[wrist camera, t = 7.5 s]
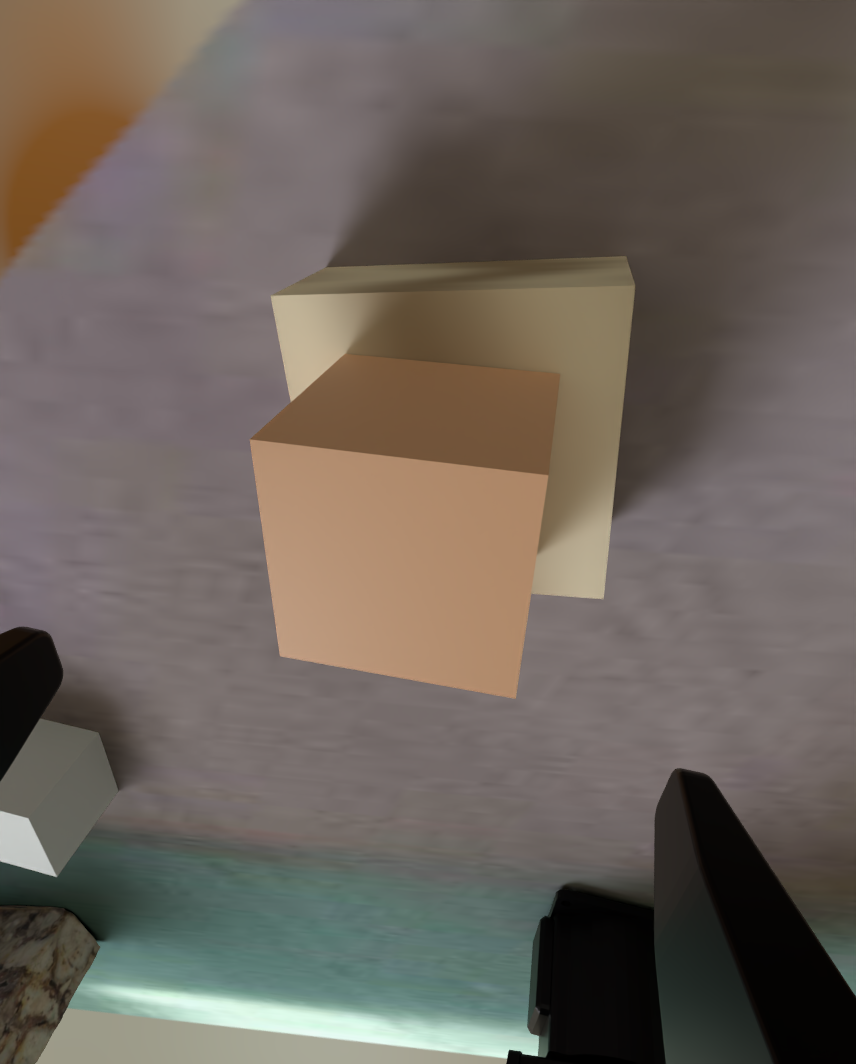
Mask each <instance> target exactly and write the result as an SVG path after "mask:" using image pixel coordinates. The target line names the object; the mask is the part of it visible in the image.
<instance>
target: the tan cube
mask: <svg viewBox="0 0 856 1064" xmlns="http://www.w3.org/2000/svg"><path fill="white" fill-rule="evenodd" d="M559 381H560V374H556V373H546V372H535V371H524V370H514V369H503V368H492V367H482V366H471V365H460V364H450V363H439V362H428V361H418V360H407V359H396V358H386V357H375V356H364V355H354V354H344V355H343V356H342V357H341V358H340V359H339V360H337V361H336V362H335V363H334V364H333V365H332V366H331V367H330V368H329V369H327V370H326V371H325V372H324V373H323V374H322V375H321V376H320V377H319V378H317V379H316V380H315V381H314V382H313V383H312V384H311V385H310V386H309V387H307V388H306V389H305V390H304V391H303V392H302V393H301V394H300V395H299V396H297V397H296V398H295V399H294V400H293V401H292V402H291V403H290V404H289V405H287V406H286V407H285V408H284V409H283V410H282V411H281V412H280V413H279V414H277V415H276V416H275V417H274V418H273V419H272V420H271V421H270V422H269V423H267V424H266V425H265V426H264V427H263V428H262V429H261V430H260V431H259V432H257V433H256V434H255V435H254V436H253V437H252V438H251V439H250V444H251V452H252V459H253V466H254V473H255V480H256V487H257V495H258V502H259V509H260V516H261V523H262V530H263V538H264V545H265V552H266V559H267V566H268V573H269V581H270V588H271V595H272V602H273V609H274V616H275V623H276V631H277V638H278V645H279V652H280V656H282V657H287V658H293V659H298V660H304V661H309V662H315V663H321V664H326V665H332V666H337V667H343V668H348V669H354V670H359V671H365V672H370V673H376V674H382V675H387V676H393V677H398V678H404V679H409V680H415V681H420V682H426V683H431V684H437V685H443V686H448V687H454V688H459V689H465V690H470V691H476V692H481V693H487V694H492V695H498V696H504V697H509V698H515V699H516V693H517V686H518V679H519V672H520V665H521V659H522V652H523V645H524V638H525V631H526V625H527V618H528V611H529V604H530V597H531V591H532V584H533V577H534V570H535V563H536V557H537V550H538V543H539V536H540V529H541V523H542V516H543V509H544V502H545V495H546V489H547V482H548V475H549V466H550V458H551V449H552V441H553V432H554V424H555V415H556V407H557V398H558V390H559Z"/></svg>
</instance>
